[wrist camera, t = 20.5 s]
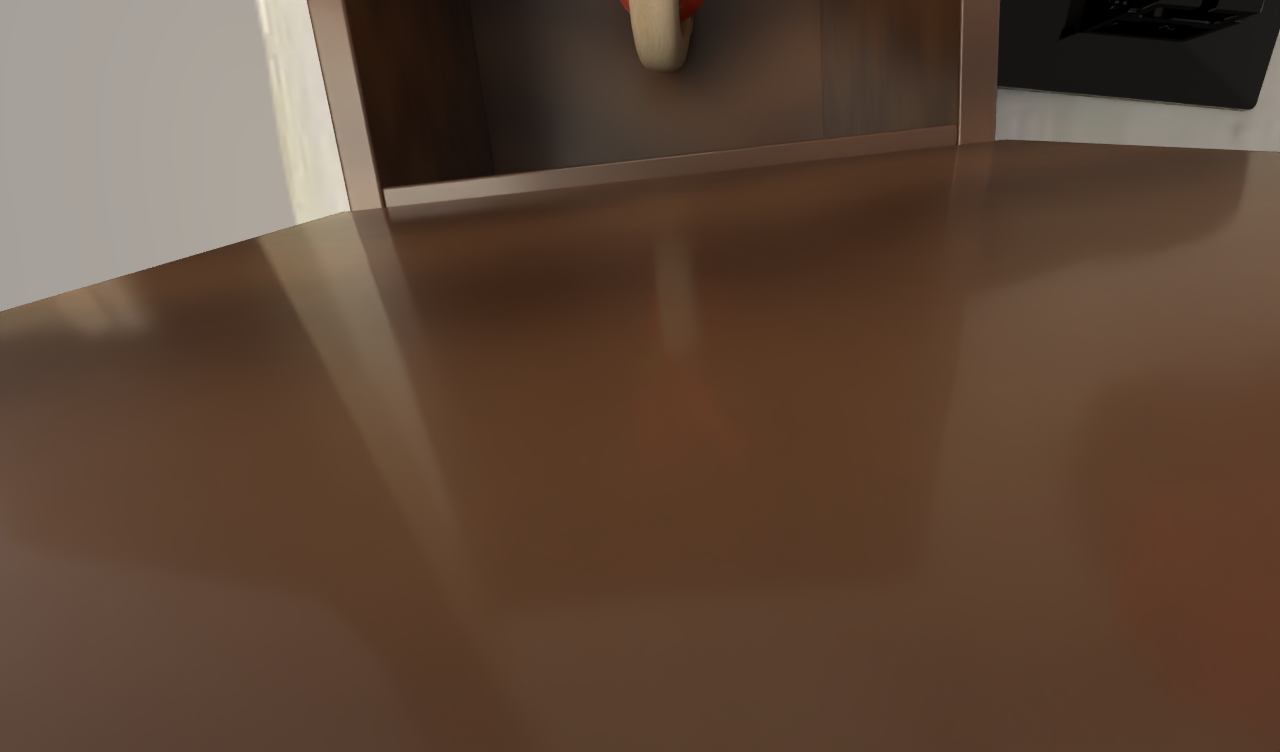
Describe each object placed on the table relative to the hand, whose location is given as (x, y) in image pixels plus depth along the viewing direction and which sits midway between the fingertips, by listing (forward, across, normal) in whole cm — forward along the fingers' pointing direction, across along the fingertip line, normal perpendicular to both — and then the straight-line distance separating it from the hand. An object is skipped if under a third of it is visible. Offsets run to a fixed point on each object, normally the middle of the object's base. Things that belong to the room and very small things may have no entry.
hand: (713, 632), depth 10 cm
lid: (-2, 0, -6) cm, 6 cm away
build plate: (+20, -20, -13) cm, 31 cm away
